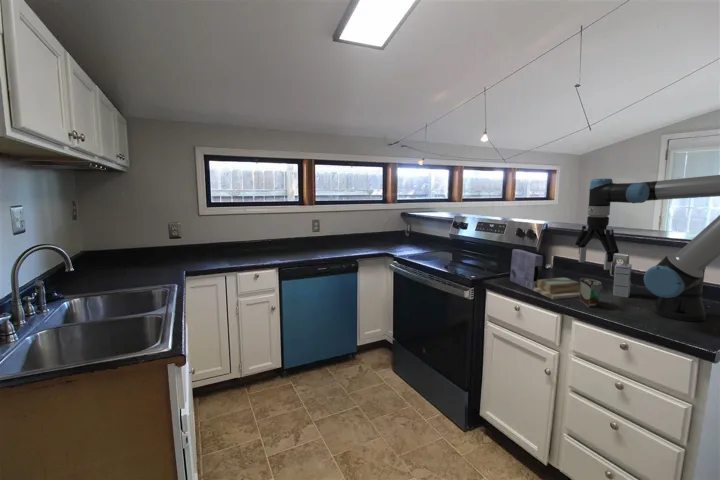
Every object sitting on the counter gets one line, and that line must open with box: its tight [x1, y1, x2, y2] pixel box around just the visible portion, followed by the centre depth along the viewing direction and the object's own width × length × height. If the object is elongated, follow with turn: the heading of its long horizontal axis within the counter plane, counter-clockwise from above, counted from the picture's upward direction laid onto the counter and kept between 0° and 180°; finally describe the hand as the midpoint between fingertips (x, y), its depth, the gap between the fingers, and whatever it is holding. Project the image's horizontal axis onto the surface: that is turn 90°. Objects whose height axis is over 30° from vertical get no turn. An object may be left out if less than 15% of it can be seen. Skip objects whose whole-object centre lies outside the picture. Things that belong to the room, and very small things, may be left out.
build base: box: [532, 276, 580, 300], centre depth 170 cm, size 18×18×6 cm
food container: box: [579, 277, 603, 308], centre depth 152 cm, size 12×6×10 cm, turn 168°
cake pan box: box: [509, 248, 544, 291], centre depth 181 cm, size 19×5×18 cm, turn 13°
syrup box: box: [612, 262, 633, 298], centre depth 162 cm, size 6×6×14 cm
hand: (594, 265), depth 151 cm, fingers open, 13 cm apart
